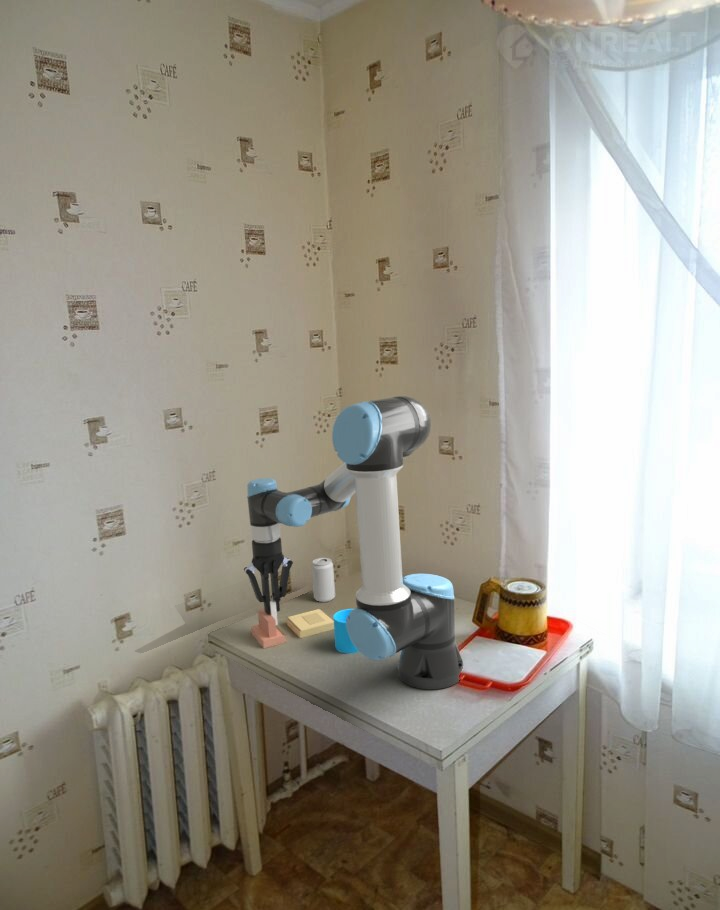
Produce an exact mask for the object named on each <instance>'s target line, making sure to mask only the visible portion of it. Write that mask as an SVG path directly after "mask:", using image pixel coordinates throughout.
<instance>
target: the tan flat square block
mask: <svg viewBox="0 0 720 910" xmlns="http://www.w3.org/2000/svg"><path fill="white" fill-rule="evenodd" d="M285 619H286V621H285V622H286V626H288V627H289V628H290V629H291V630H292V631H293V633H295V635H296V636H298V638H300V639H304V638H307V637H310V636H314V635H317V634H322V633H325V632H329V631H331V630H333V631H334V619H332V618H331V617H330V616H328V615H327V614H326V613H325V612H324V611H323V610H321V608H317V609H314V610H310V611H305V612H302V613H299V614H295V615H291V616H286V617H285Z"/></svg>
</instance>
